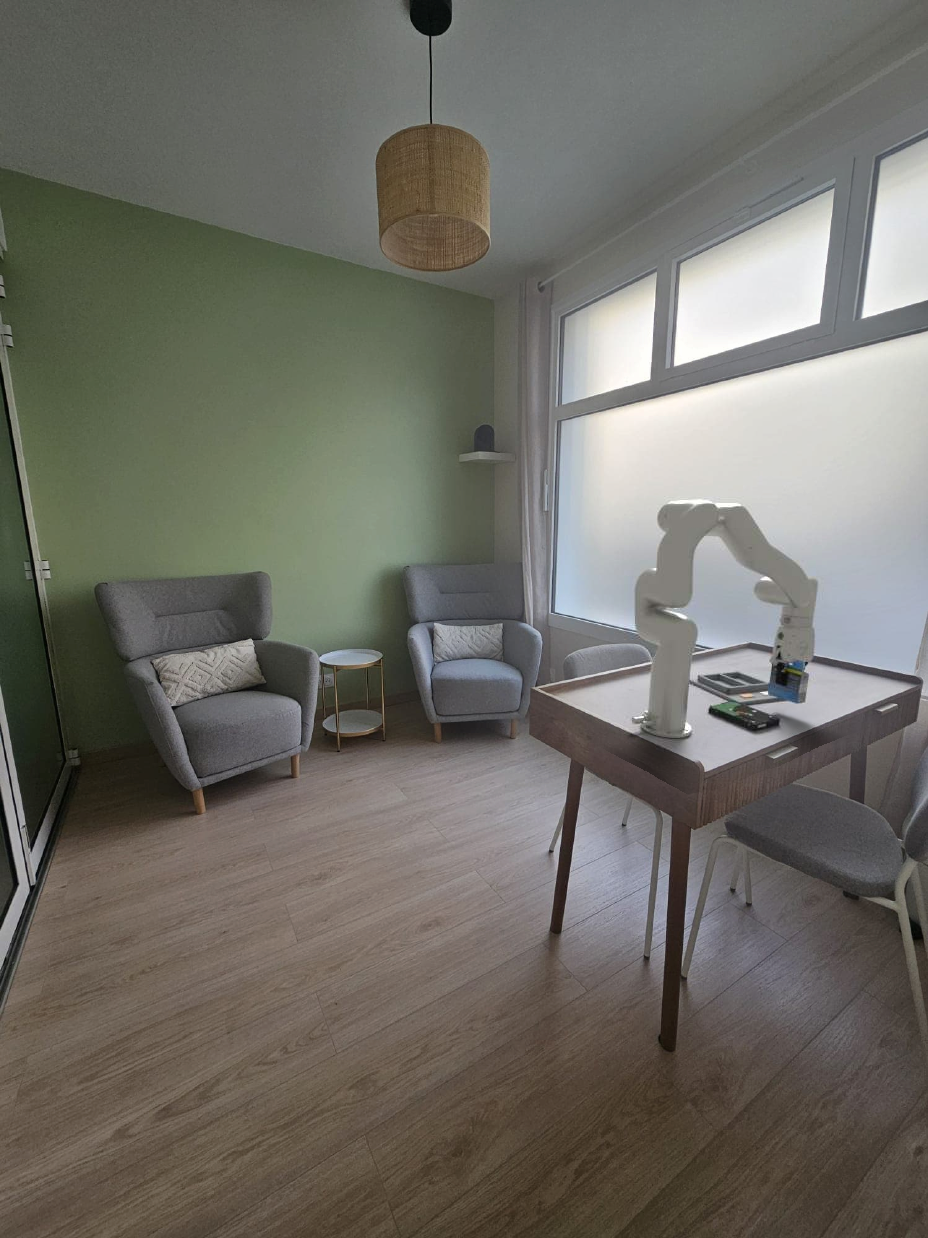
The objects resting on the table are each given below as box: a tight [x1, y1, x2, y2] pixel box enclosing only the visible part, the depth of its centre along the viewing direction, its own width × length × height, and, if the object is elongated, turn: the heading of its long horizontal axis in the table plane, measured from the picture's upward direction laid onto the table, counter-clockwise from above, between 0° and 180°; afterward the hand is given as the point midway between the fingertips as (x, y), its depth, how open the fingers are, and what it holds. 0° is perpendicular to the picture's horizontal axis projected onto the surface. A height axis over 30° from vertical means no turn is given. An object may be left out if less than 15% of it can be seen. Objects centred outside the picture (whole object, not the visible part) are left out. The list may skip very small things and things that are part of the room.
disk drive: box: [707, 701, 781, 733], centre depth 142 cm, size 10×3×15 cm
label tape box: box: [768, 660, 810, 704], centre depth 144 cm, size 9×4×12 cm, turn 25°
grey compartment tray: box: [689, 670, 785, 706], centre depth 165 cm, size 20×22×3 cm
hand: (788, 683), depth 144 cm, fingers closed on label tape box, 4 cm apart
